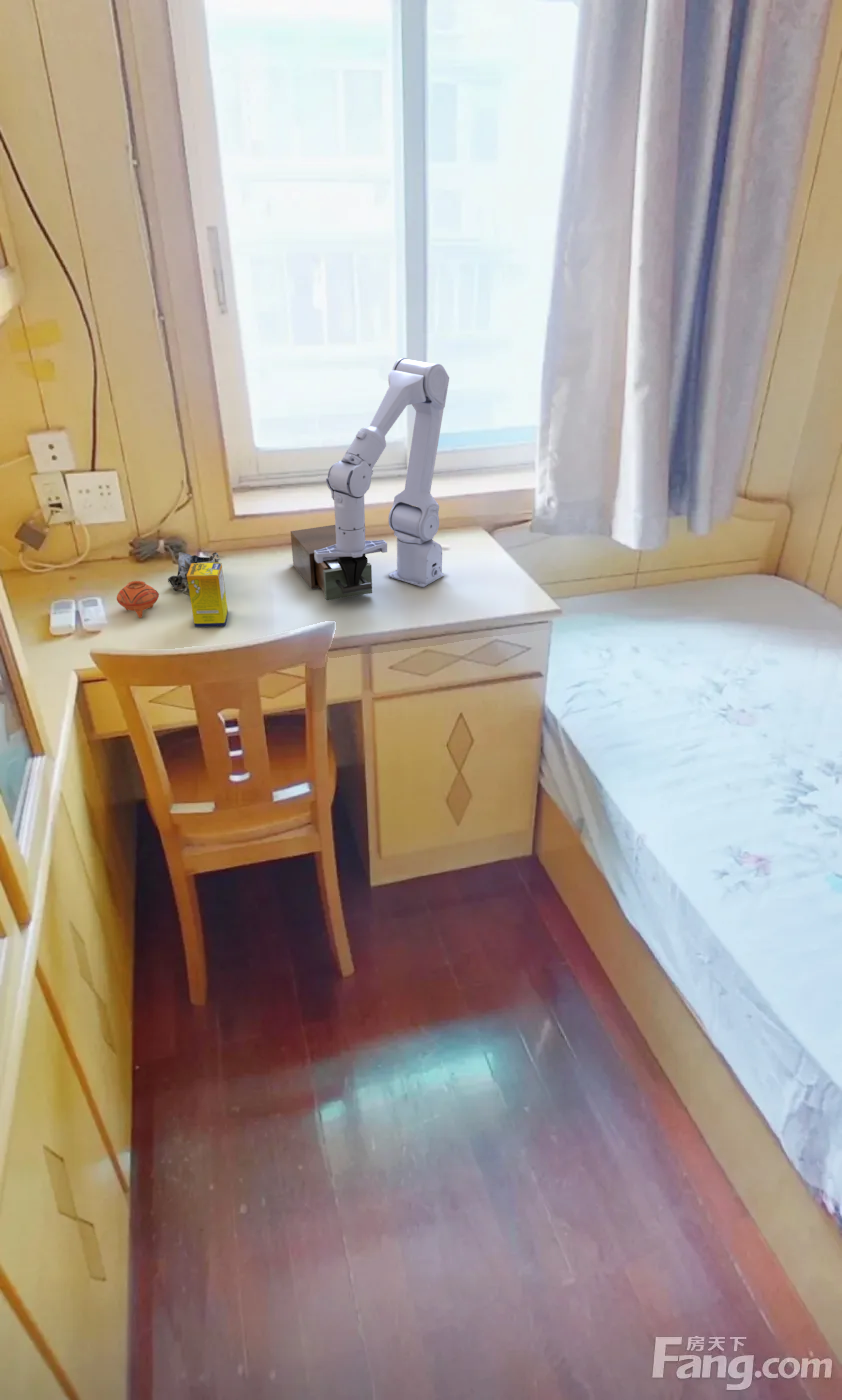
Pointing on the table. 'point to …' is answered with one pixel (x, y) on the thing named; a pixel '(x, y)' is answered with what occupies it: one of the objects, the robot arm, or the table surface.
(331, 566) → the shiny metal block
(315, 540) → the cabinet
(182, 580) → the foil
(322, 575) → the drawer
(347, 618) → the table surface
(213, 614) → the supplement box
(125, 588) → the pot
